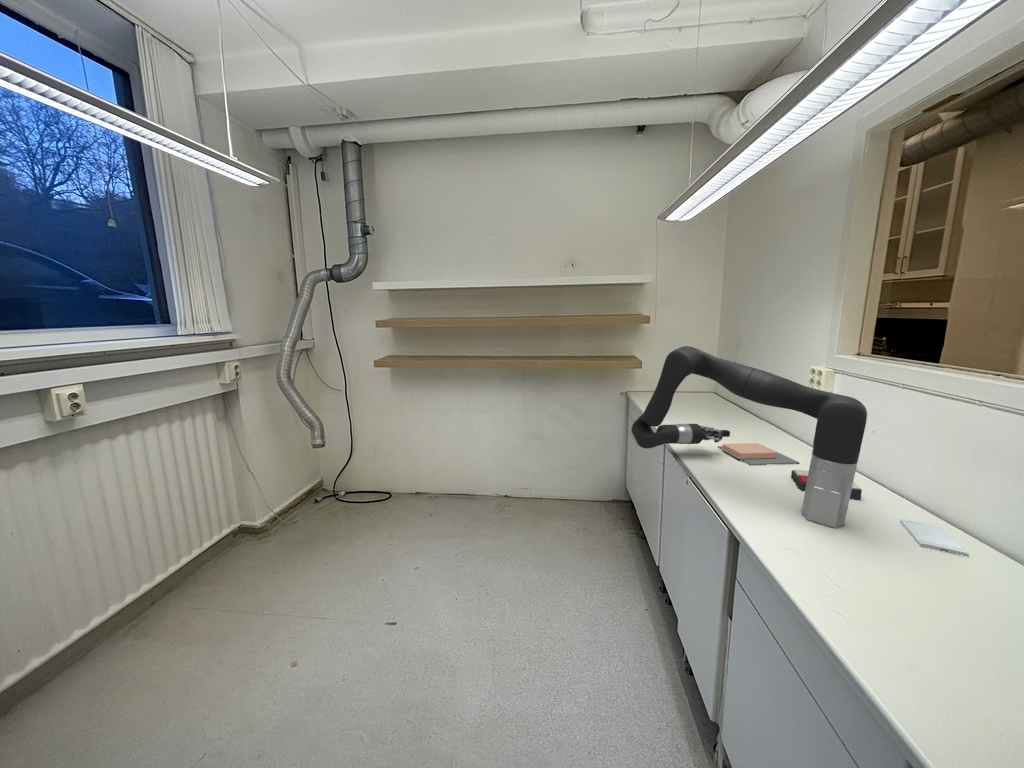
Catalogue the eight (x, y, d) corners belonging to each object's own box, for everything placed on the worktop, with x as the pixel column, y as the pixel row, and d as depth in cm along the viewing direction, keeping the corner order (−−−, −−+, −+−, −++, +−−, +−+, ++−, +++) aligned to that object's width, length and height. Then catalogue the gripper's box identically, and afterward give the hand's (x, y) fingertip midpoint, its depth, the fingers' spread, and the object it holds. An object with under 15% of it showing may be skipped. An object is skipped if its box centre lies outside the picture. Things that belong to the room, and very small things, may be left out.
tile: (740, 453, 142) (777, 452, 144) (722, 443, 152) (757, 443, 154) (739, 459, 143) (776, 458, 145) (721, 449, 152) (756, 449, 154)
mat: (749, 465, 139) (749, 464, 139) (717, 447, 156) (717, 446, 156) (799, 463, 142) (799, 462, 142) (762, 446, 159) (762, 445, 159)
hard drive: (900, 518, 103) (920, 542, 92) (943, 527, 99) (969, 553, 89) (899, 524, 103) (919, 548, 93) (941, 532, 100) (968, 559, 89)
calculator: (791, 467, 129) (847, 473, 124) (790, 479, 130) (845, 486, 125) (801, 480, 119) (862, 488, 114) (800, 493, 120) (861, 501, 115)
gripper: (697, 429, 136) (742, 429, 139) (677, 419, 149) (718, 418, 151) (694, 449, 138) (739, 449, 140) (675, 437, 151) (716, 436, 153)
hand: (728, 433), depth 146 cm, fingers closed
